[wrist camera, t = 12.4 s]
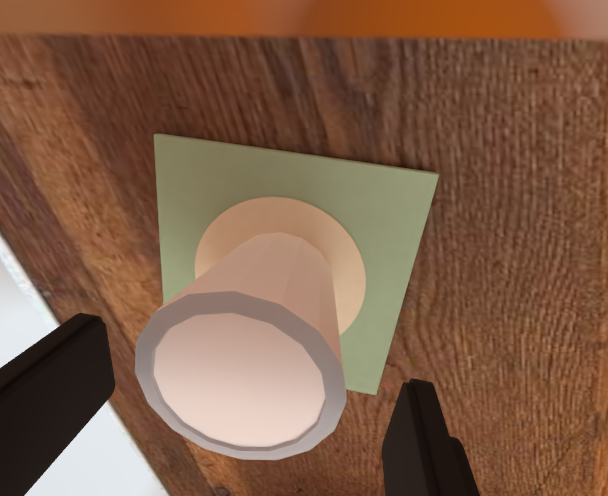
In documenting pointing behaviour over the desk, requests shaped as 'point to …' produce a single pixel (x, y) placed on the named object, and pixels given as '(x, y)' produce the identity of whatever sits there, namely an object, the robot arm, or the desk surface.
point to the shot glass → (249, 353)
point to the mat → (298, 228)
